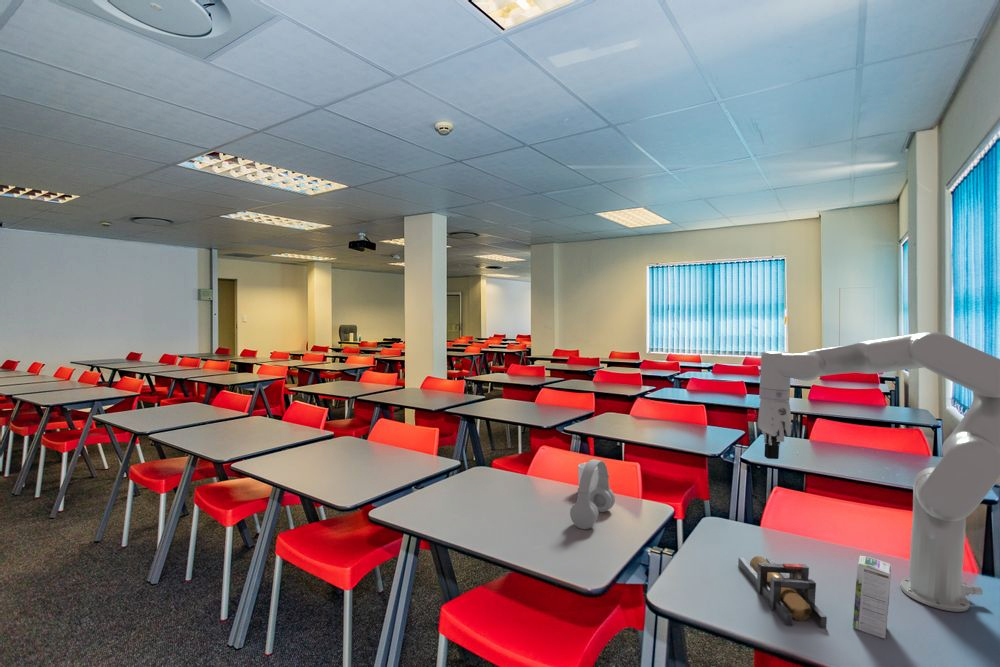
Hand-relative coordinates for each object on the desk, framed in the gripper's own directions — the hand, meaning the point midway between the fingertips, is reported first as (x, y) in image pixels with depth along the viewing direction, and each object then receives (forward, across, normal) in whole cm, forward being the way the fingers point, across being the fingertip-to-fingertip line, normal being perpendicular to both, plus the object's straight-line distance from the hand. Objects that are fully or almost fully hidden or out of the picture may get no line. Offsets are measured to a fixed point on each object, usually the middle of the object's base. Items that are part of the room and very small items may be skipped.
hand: (771, 457), depth 139 cm
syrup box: (+27, -34, -6) cm, 44 cm away
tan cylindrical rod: (+27, -23, +8) cm, 36 cm away
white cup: (+27, +39, +47) cm, 67 cm away
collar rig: (+27, -22, +8) cm, 36 cm away
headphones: (+27, +16, +48) cm, 58 cm away
